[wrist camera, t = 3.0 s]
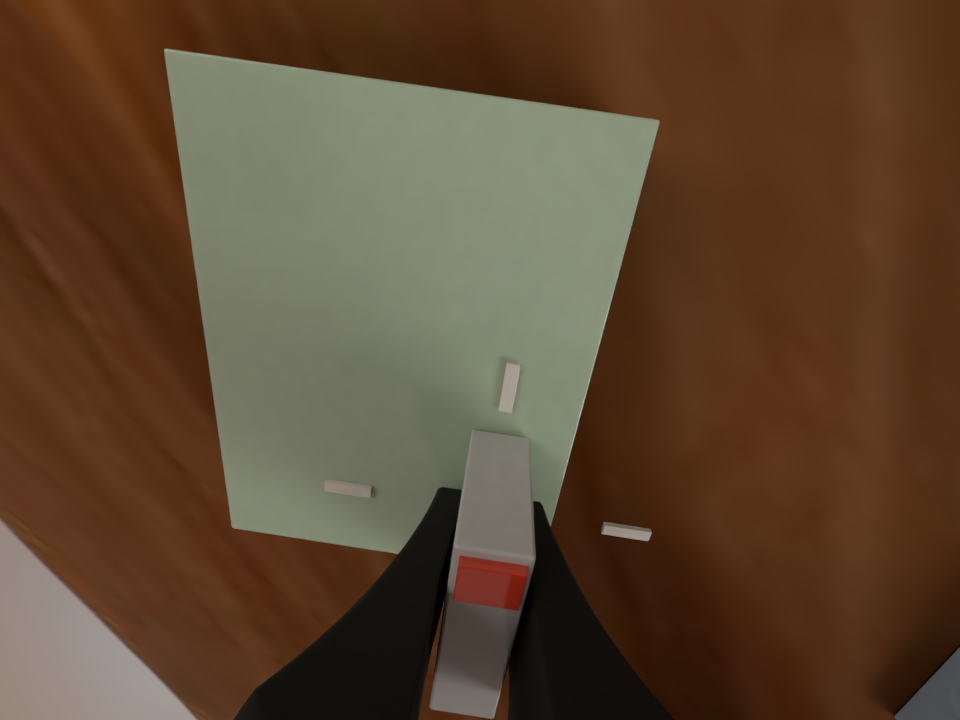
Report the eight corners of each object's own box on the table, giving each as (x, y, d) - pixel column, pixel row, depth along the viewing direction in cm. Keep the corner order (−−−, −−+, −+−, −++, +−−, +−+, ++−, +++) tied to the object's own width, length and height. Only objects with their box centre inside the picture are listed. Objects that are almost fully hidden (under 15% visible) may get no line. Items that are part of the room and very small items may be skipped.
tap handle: (499, 577, 14) (493, 733, 10) (450, 569, 14) (426, 722, 10) (530, 436, 12) (538, 569, 8) (471, 428, 12) (451, 555, 8)
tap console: (592, 563, 18) (608, 641, 15) (280, 515, 18) (235, 583, 15) (735, 144, 11) (810, 140, 8) (245, 73, 11) (155, 45, 9)
